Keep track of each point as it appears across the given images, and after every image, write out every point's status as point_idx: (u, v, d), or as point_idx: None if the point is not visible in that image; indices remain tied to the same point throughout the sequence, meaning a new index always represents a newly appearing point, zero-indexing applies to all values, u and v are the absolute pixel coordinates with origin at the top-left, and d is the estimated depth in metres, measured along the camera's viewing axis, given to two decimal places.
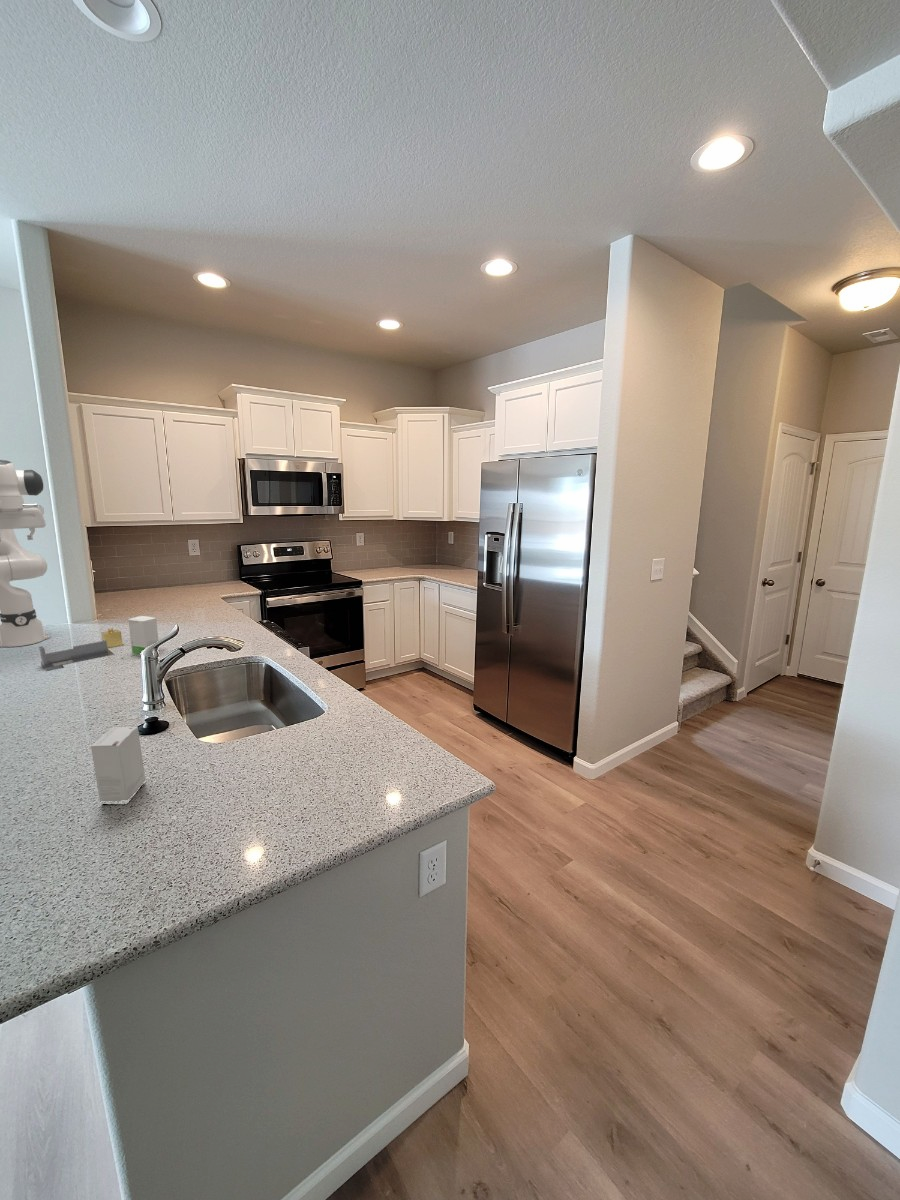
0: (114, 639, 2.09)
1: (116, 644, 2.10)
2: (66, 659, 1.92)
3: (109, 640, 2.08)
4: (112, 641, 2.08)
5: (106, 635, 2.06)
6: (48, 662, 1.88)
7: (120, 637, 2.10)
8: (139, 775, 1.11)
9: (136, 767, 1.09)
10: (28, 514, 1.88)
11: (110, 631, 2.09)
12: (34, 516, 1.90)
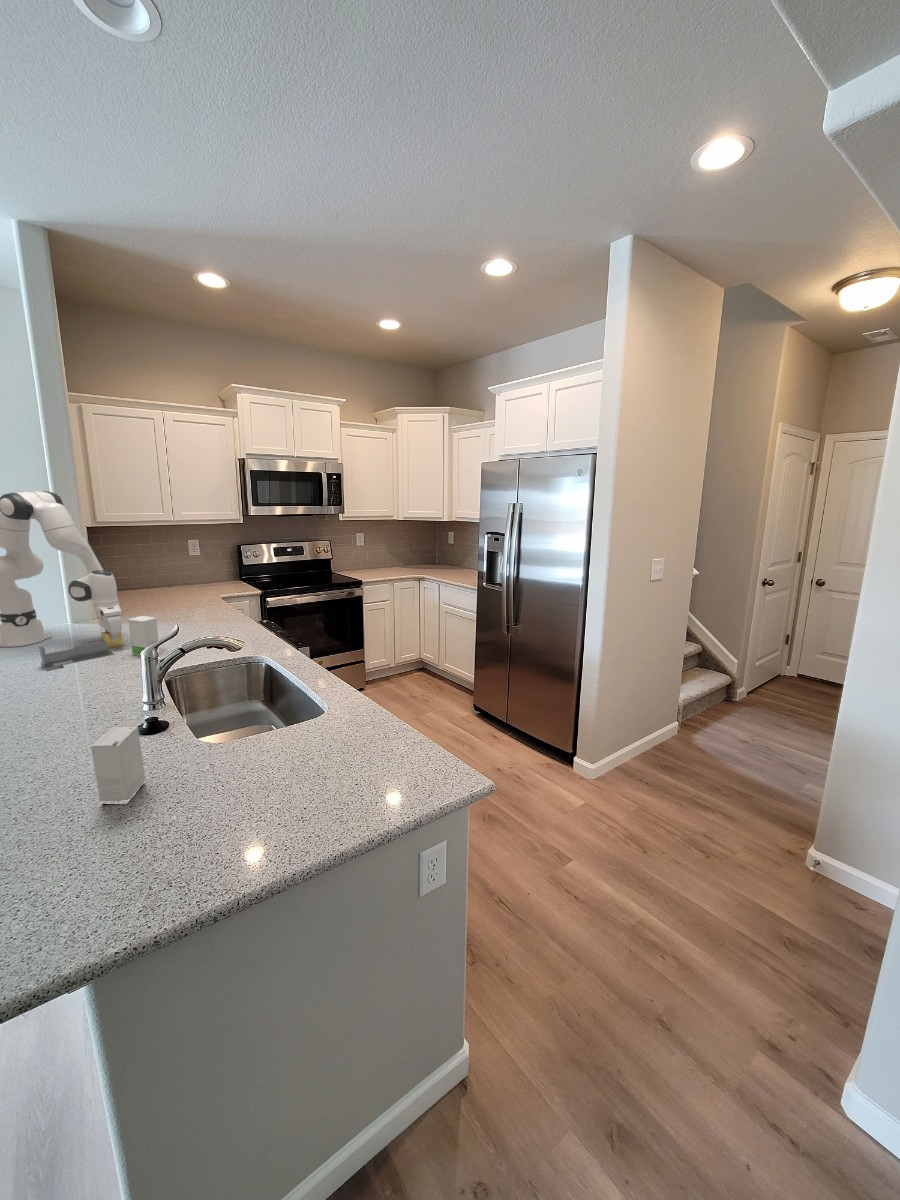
0: None
1: (116, 644, 2.10)
2: (66, 659, 1.92)
3: (109, 640, 2.08)
4: None
5: (106, 635, 2.06)
6: (48, 662, 1.88)
7: (120, 637, 2.10)
8: (139, 775, 1.11)
9: (136, 767, 1.09)
10: None
11: None
12: None
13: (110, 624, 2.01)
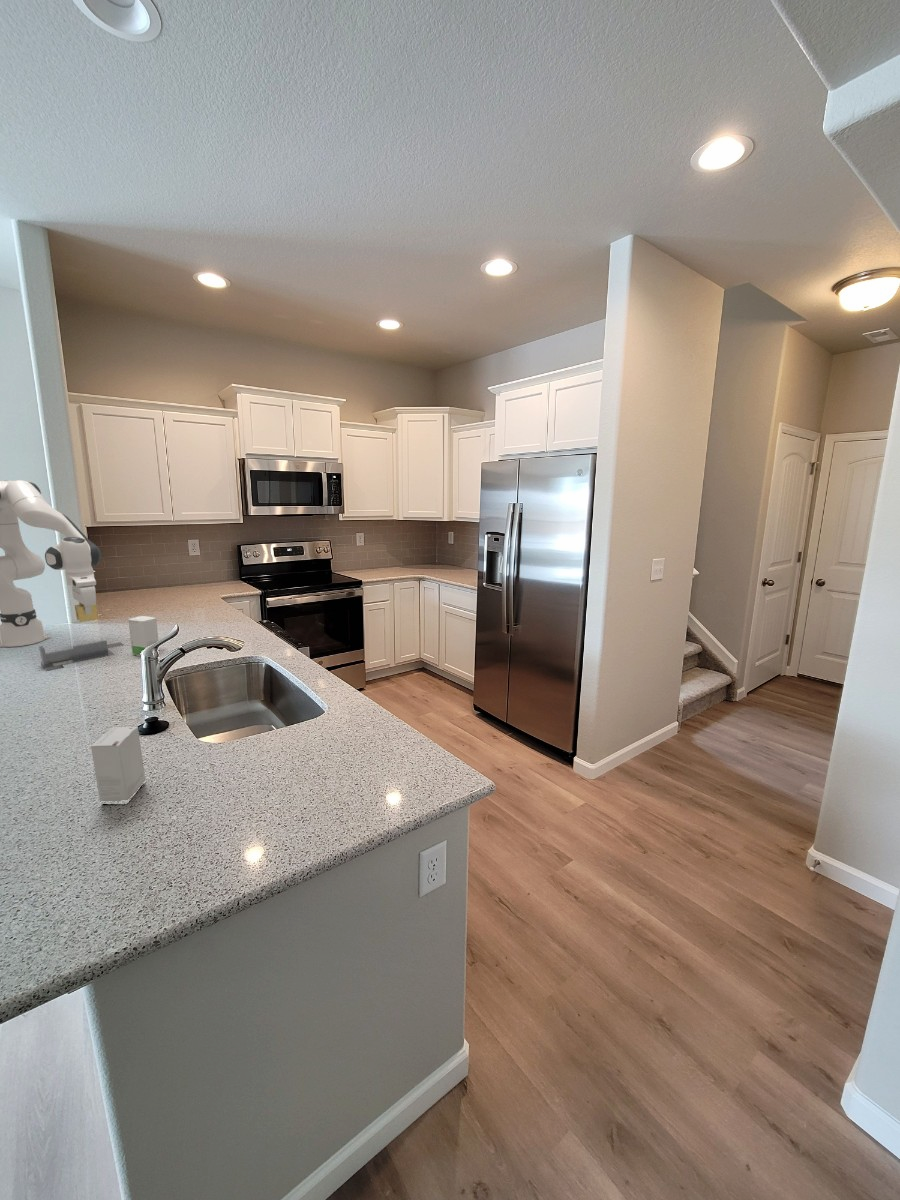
0: None
1: (91, 618, 1.94)
2: (66, 659, 1.92)
3: (83, 613, 1.92)
4: None
5: (79, 608, 1.91)
6: (48, 662, 1.88)
7: (95, 610, 1.95)
8: (139, 775, 1.11)
9: (136, 767, 1.09)
10: None
11: None
12: None
13: (83, 595, 1.85)
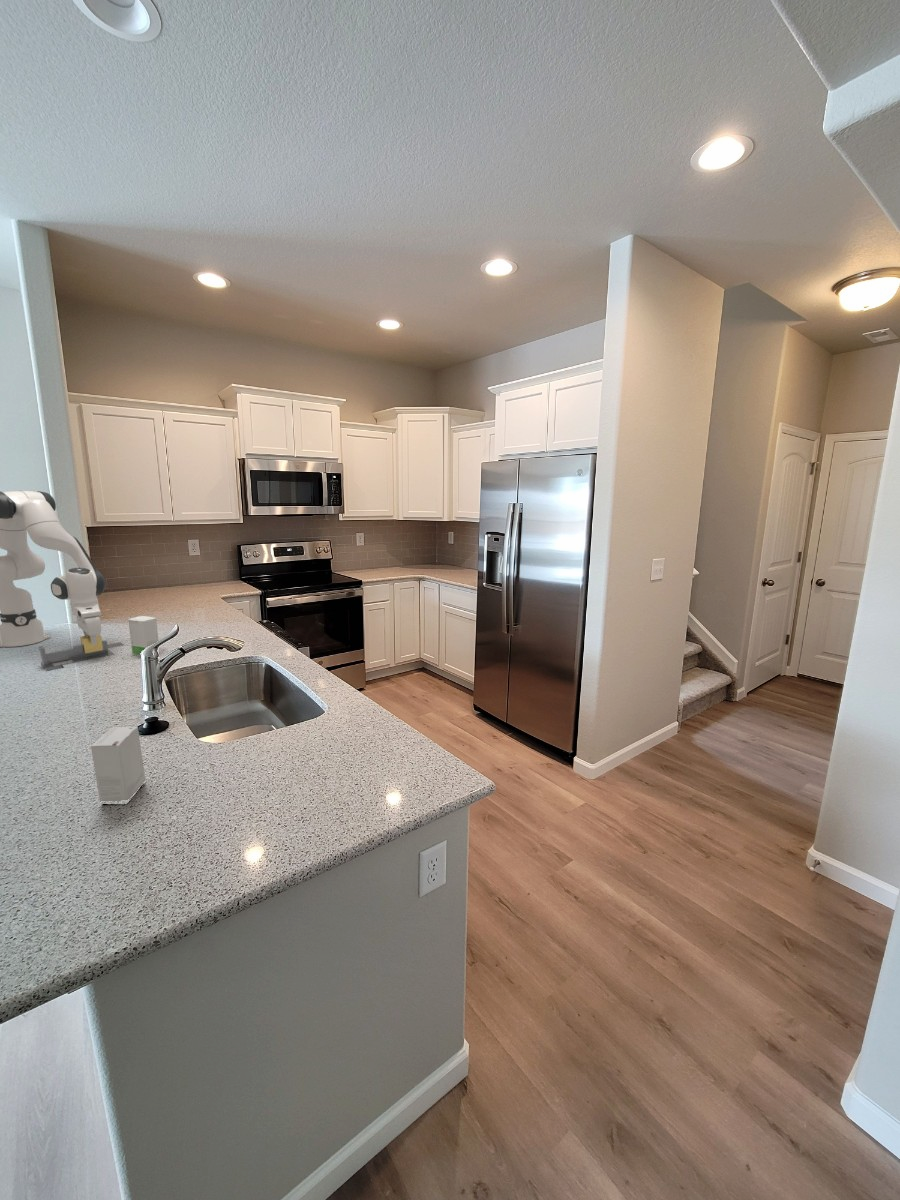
0: None
1: (96, 649, 1.97)
2: (66, 659, 1.92)
3: (88, 645, 1.95)
4: (91, 646, 1.96)
5: (85, 639, 1.94)
6: (48, 662, 1.88)
7: (100, 641, 1.97)
8: (139, 775, 1.11)
9: (136, 767, 1.09)
10: None
11: None
12: None
13: (88, 626, 1.88)
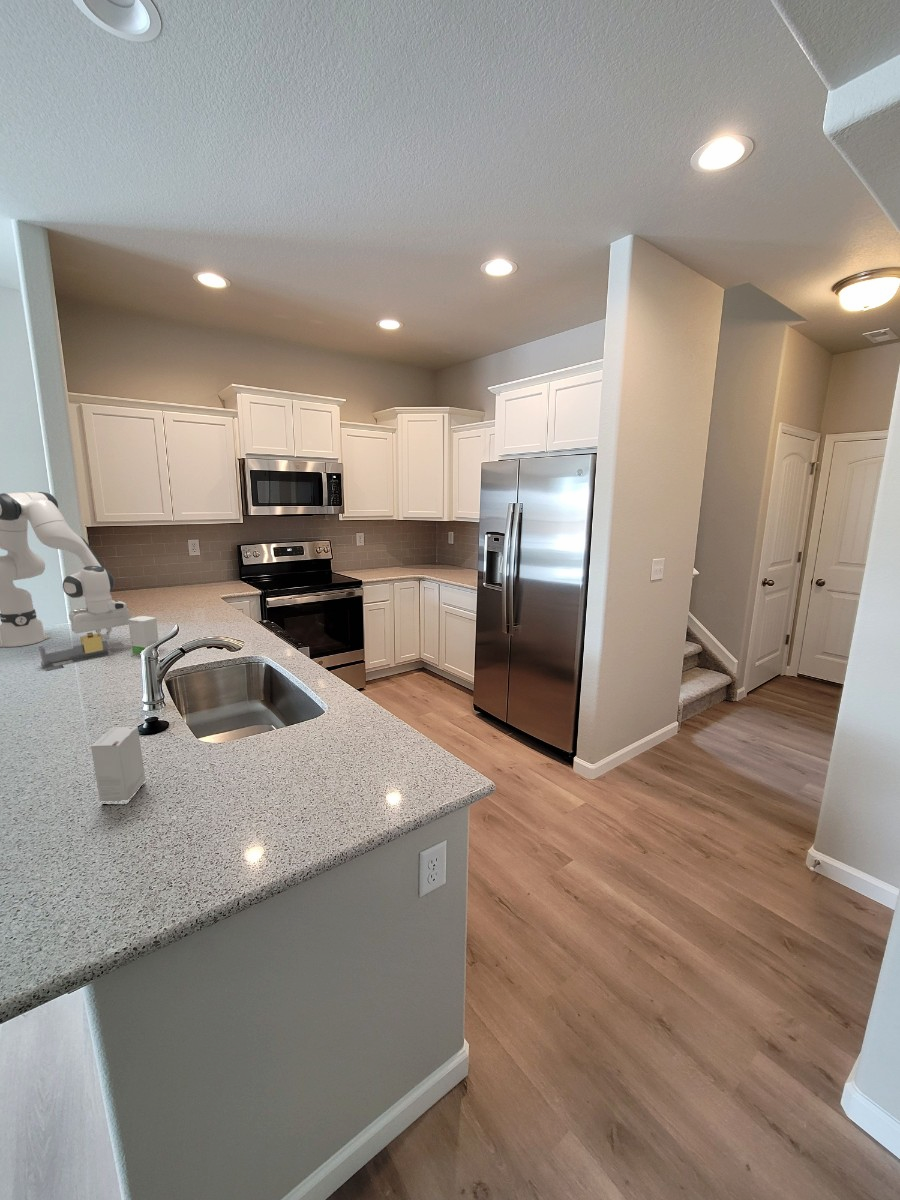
0: (93, 644, 1.96)
1: (96, 649, 1.97)
2: (66, 659, 1.92)
3: (88, 645, 1.95)
4: (91, 646, 1.96)
5: (85, 639, 1.94)
6: (48, 662, 1.88)
7: (100, 641, 1.97)
8: (139, 775, 1.11)
9: (136, 767, 1.09)
10: None
11: (89, 635, 1.96)
12: None
13: (130, 614, 2.05)
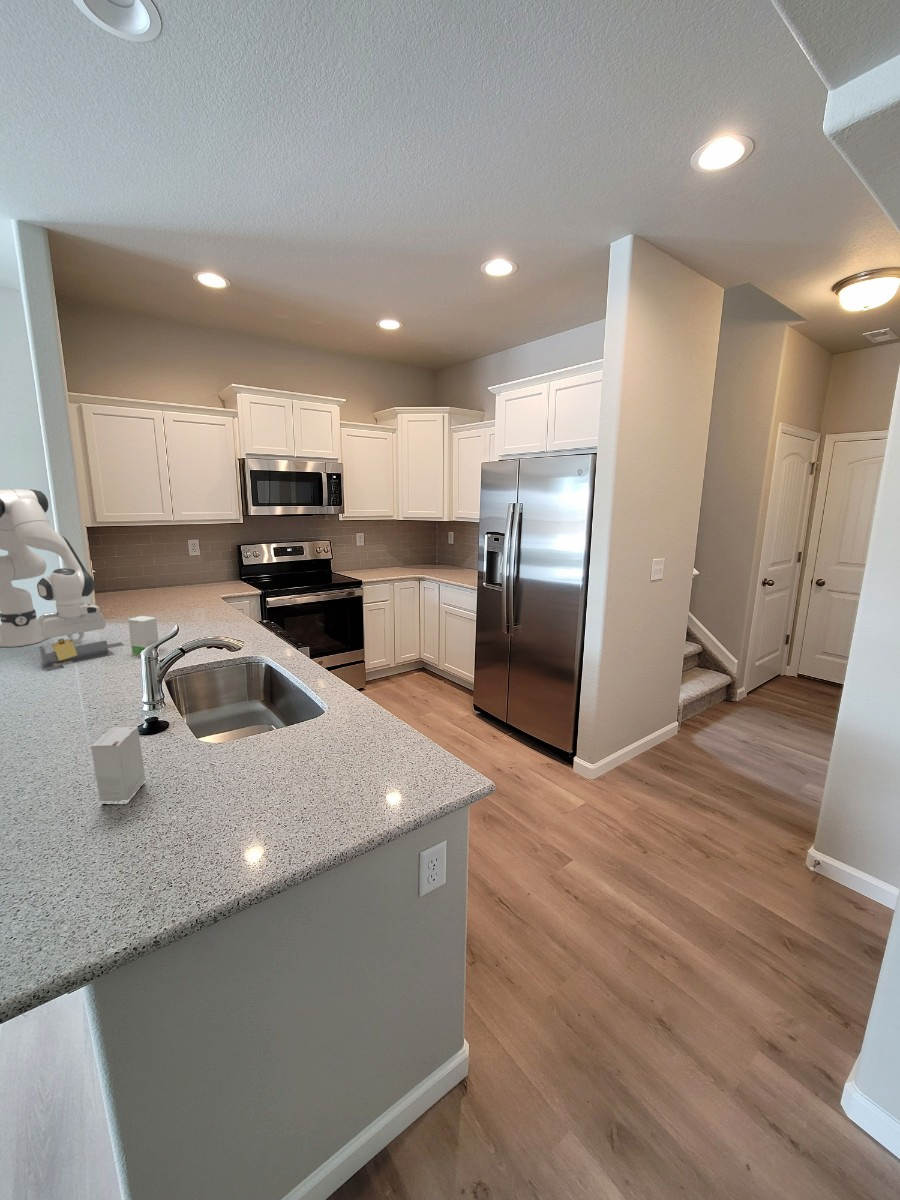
0: (66, 650, 1.89)
1: (69, 655, 1.91)
2: (66, 659, 1.92)
3: (61, 652, 1.89)
4: (64, 652, 1.89)
5: (56, 647, 1.87)
6: (48, 662, 1.88)
7: (72, 647, 1.91)
8: (139, 775, 1.11)
9: (136, 767, 1.09)
10: None
11: (60, 642, 1.89)
12: None
13: (103, 618, 1.98)
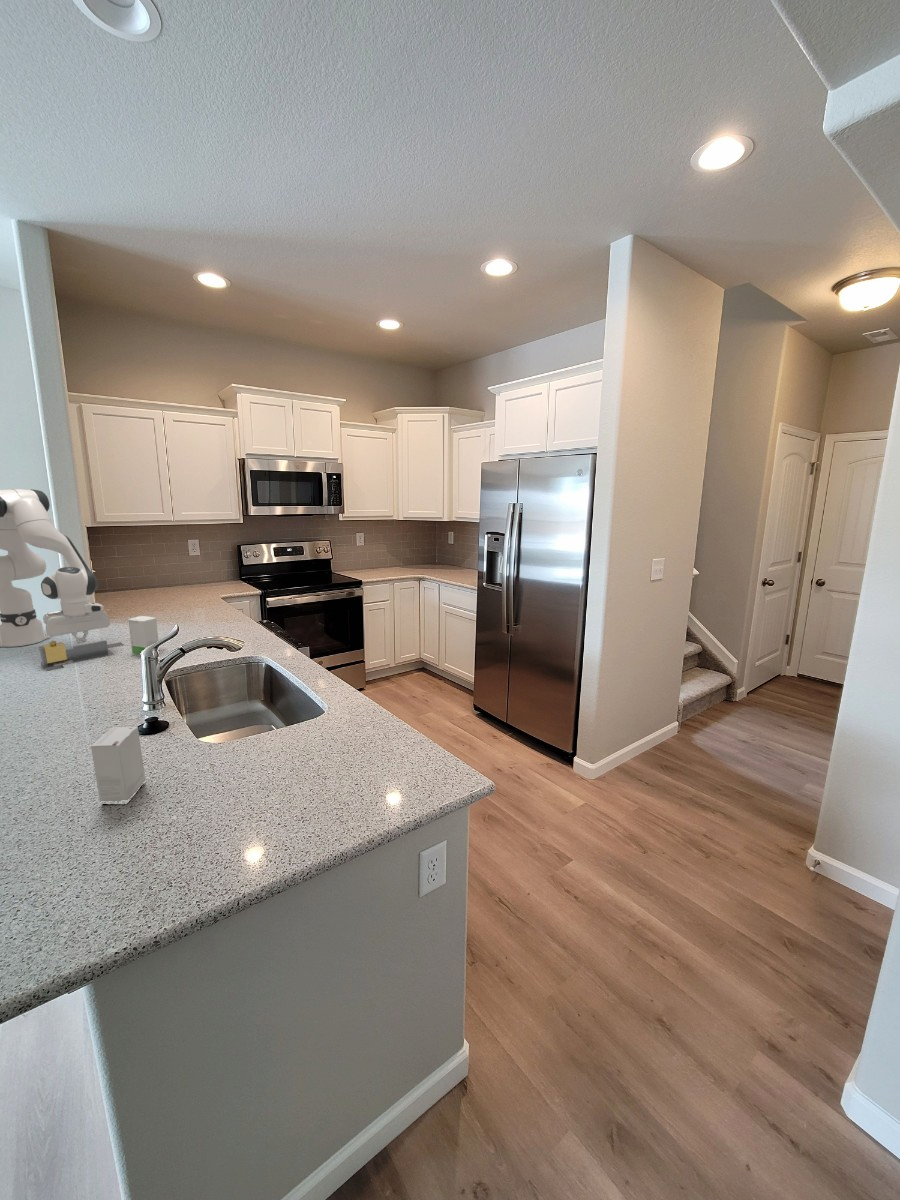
0: (56, 653, 1.87)
1: (59, 658, 1.88)
2: None
3: (51, 654, 1.86)
4: (54, 655, 1.87)
5: (47, 649, 1.85)
6: None
7: (63, 650, 1.89)
8: (139, 775, 1.11)
9: (136, 767, 1.09)
10: None
11: (52, 644, 1.87)
12: None
13: None
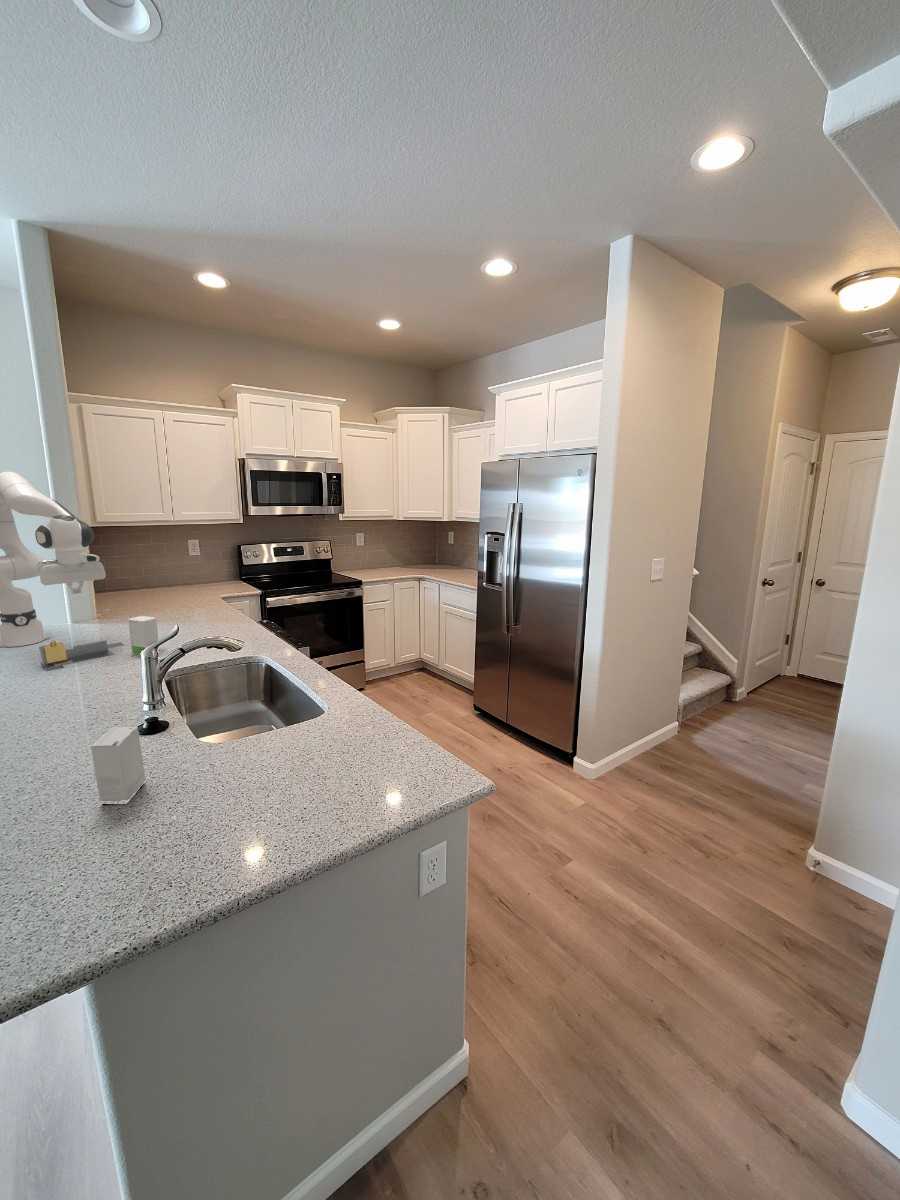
0: (56, 653, 1.87)
1: (59, 658, 1.88)
2: None
3: (51, 654, 1.86)
4: (54, 655, 1.87)
5: (47, 649, 1.85)
6: None
7: (63, 650, 1.89)
8: (139, 775, 1.11)
9: (136, 767, 1.09)
10: None
11: (52, 644, 1.87)
12: None
13: (103, 568, 1.95)
